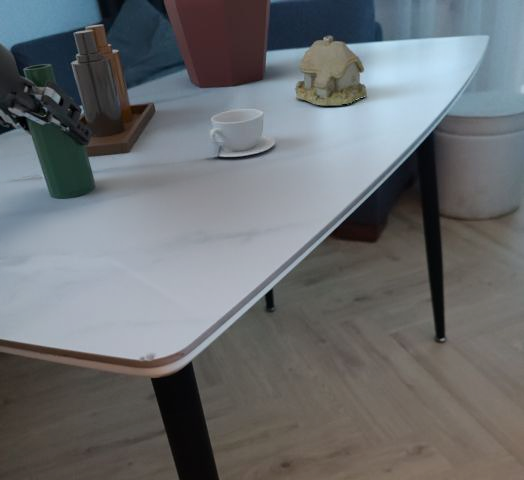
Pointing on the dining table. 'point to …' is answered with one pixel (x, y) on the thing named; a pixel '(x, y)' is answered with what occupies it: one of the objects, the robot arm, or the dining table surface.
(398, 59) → the dining table surface
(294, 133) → the dining table surface
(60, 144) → the green bottle
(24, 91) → the robot arm
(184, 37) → the bucket
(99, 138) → the tray
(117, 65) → the amber bottle
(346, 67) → the ceramic model
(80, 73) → the gray bottle
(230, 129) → the teacup
